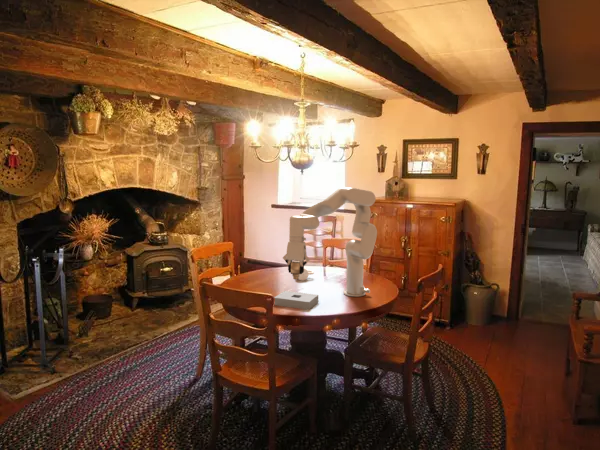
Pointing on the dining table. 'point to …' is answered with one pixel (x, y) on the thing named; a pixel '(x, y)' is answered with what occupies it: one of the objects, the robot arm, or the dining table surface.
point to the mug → (305, 274)
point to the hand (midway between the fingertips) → (295, 272)
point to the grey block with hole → (296, 300)
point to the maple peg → (295, 269)
